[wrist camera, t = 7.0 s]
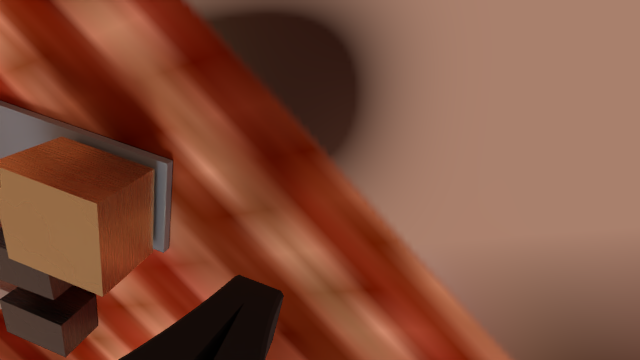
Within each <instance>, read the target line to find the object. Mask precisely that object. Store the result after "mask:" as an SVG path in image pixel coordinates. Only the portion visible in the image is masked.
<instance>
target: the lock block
mask: <svg viewBox="0 0 640 360" xmlns="http://www.w3.org/2000/svg"><path fill="white" fill-rule="evenodd" d="M154 175H155V169H153V168H150V167H147V166H145V165H142V164H139V163H136V162H133V161H130V160H128V159H125V158H122V157H119V156H116V155H113V154H111V153H108V152H105V151H102V150H99V149H96V148H94V147H91V146H88V145H85V144H82V143H79V142H77V141H74V140H71V139H68V138H65V137H59V138H56V139H53V140H51V141H48V142H45V143H42V144H39V145H37V146H34V147H31V148H28V149H26V150H23V151H20V152H17V153H15V154H12V155H9V156H6V157H4V158H1V159H0V220H1V225H2V229H3V234H4V238H5V243H6V248H7V252H8V257H9V259H12V260H14V261H17V262H19V263H22V264H24V265H27V266H29V267H31V268H34V269H36V270H39V271H41V272H44V273H46V274H48V275H51V276H53V277H56V278H58V279H61V280H63V281H66V282H68V283H70V284H73V285H75V286H78V287H80V288H83V289H85V290H87V291H90V292H92V293H95V294H97V295H100V296H102V297H103V296H105V295H106V294H107V293H108V292H109V291H110V290H111V289H112V288H113V287H115V286H116V285H117V284H118V283H119V282H120V281H121V280H122V279H123V278H125V277H126V276H127V275H128V274H129V273H130V272H131V271H132V270H133V269H135V268H136V267H137V266H138V265H139V264H140V263H141V262H142V261H143V260H145V259H146V258H147V257H148V256H149V255H150V254H151V253H152V252H153V222H154Z"/></svg>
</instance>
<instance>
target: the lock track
mask: <svg viewBox="0 0 640 360" xmlns="http://www.w3.org/2000/svg"><path fill="white" fill-rule="evenodd" d="M59 137H65V138H68V139H71V140H74V141H77V142H79V143H82V144H85V145H88V146H91V147H94V148H96V149H99V150H102V151H105V152H108V153H111V154H113V155H116V156H119V157H122V158H125V159H128V160H130V161H133V162H136V163H139V164H142V165H145V166H147V167H150V168H153V169H155V175H154V222H153V249H156V250H158V251H161V252H163V253H164V252H165V251H166V250H167V249H168V248H169V232H170V211H171V189H172V168H173V160H170V159H167V158H164V157H161V156H158V155H155V154H153V153H150V152H147V151H144V150H141V149H138V148H135V147H132V146H130V145H127V144H124V143H121V142H118V141H115V140H112V139H109V138H107V137H104V136H101V135H98V134H95V133H92V132H89V131H86V130H84V129H81V128H78V127H75V126H72V125H69V124H66V123H63V122H61V121H58V120H55V119H52V118H49V117H46V116H43V115H40V114H38V113H35V112H32V111H29V110H26V109H23V108H20V107H17V106H15V105H12V104H9V103H6V102H3V101H0V159H1V158H4V157H6V156H9V155H12V154H15V153H17V152H20V151H23V150H26V149H28V148H31V147H34V146H37V145H39V144H42V143H45V142H48V141H51V140H53V139H56V138H59Z"/></svg>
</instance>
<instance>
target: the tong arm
mask: <svg viewBox="0 0 640 360" xmlns="http://www.w3.org/2000/svg"><path fill="white" fill-rule="evenodd" d="M0 280H2V281H5V282H7V283H10V284H13V285H15V286H18V287H20V288H23V289H26V290H28V291H31V292H34V293H36V294H39V295H41V296H44V297H47V298H49V299H52V300H55V299H56V298H57V297H58V296H60V295H61V294H62V293H63V292H65V291H66V290H67V289H68V288H70V287H71V286H72V285H73V284H70V283H68V282H66V281H63V280H61V279H58V278H56V277H53V276H51V275H48V274H46V273H44V272H41V271H39V270H36V269H34V268H31V267H29V266H27V265H24V264H22V263H19V262H17V261H14V260H12V259H9V257H8V252H7V248H6V243H5V238H4V234H3V229H2V225H1V220H0Z"/></svg>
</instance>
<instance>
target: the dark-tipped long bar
mask: <svg viewBox="0 0 640 360" xmlns="http://www.w3.org/2000/svg"><path fill="white" fill-rule="evenodd" d="M0 309H2V312H3V316H4V320H5V324H6V328H7V332H9V333H12V334H14V335H16V336H18V337H21V338H23V339H25V340H28V341H30V342H32V343H34V344H37V345H39V346H41V347H43V348H46V349H48V350H50V351H53V352H55V353H57V354H59V355H62V356H64V357H66V356H67V355H68V354H69V353H70V352H71V351H72V350H74V349H75V348H76V347H77V346H78V345H79V344H80V343H81V342H82V341H83V340H84V339H85V338H86V337H87V336H88V335H89V334H90V333H91V332H92V331H93V330H94V329H95V328H96V327H97V326H98V320H97V307H96V296H95V295H93V294H90V293H88V292H86V291H83V290H81V289H78V288H76V287H73V286H71V287H70V288H68V289H67V290H66V291H65V292H63V293H62V294H61V295H60V296H58V297H57V298H56V299H55V300H52V299H49V298H47V297H44V296H41V295H39V294H36V293H34V292H31V291H28V290H26V289H23V288H20V287H18V286H15V285H13V284H10V283H7V282H5V281H2V280H0Z"/></svg>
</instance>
